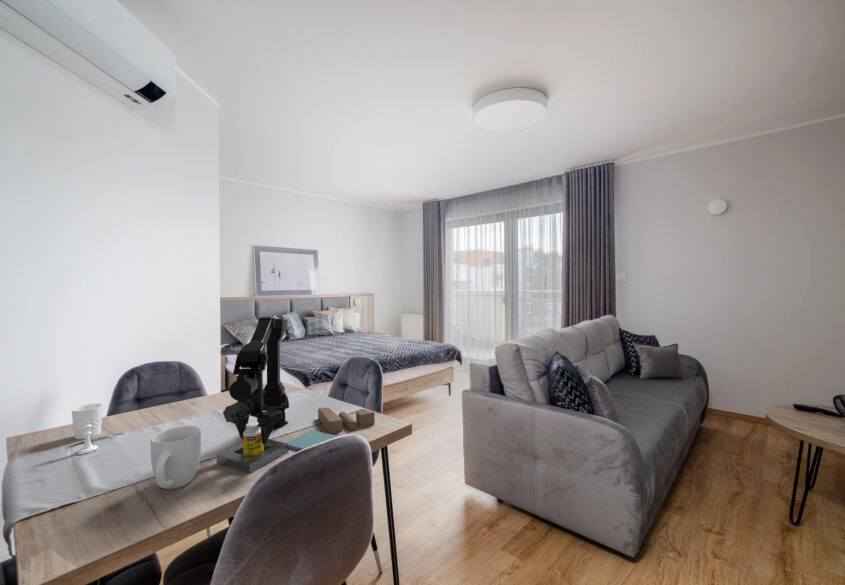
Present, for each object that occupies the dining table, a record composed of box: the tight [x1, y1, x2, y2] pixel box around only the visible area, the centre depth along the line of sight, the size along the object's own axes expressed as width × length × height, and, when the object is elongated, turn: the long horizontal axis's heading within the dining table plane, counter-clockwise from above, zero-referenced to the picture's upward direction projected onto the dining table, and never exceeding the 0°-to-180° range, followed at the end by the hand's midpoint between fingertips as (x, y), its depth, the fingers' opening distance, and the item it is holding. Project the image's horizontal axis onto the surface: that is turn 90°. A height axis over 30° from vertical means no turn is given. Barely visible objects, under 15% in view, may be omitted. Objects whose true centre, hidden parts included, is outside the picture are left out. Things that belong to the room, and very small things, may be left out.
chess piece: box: [76, 419, 99, 453], centre depth 113 cm, size 5×5×10 cm
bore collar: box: [216, 438, 290, 474], centre depth 108 cm, size 14×14×2 cm
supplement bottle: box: [242, 421, 264, 458], centre depth 108 cm, size 6×6×10 cm
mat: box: [285, 429, 338, 451], centre depth 118 cm, size 12×12×1 cm
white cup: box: [71, 403, 103, 440], centre depth 125 cm, size 8×8×10 cm
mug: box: [150, 425, 202, 490], centre depth 92 cm, size 15×11×13 cm
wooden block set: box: [317, 407, 375, 435], centre depth 136 cm, size 17×6×18 cm
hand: (253, 441), depth 108 cm, fingers open, 9 cm apart
